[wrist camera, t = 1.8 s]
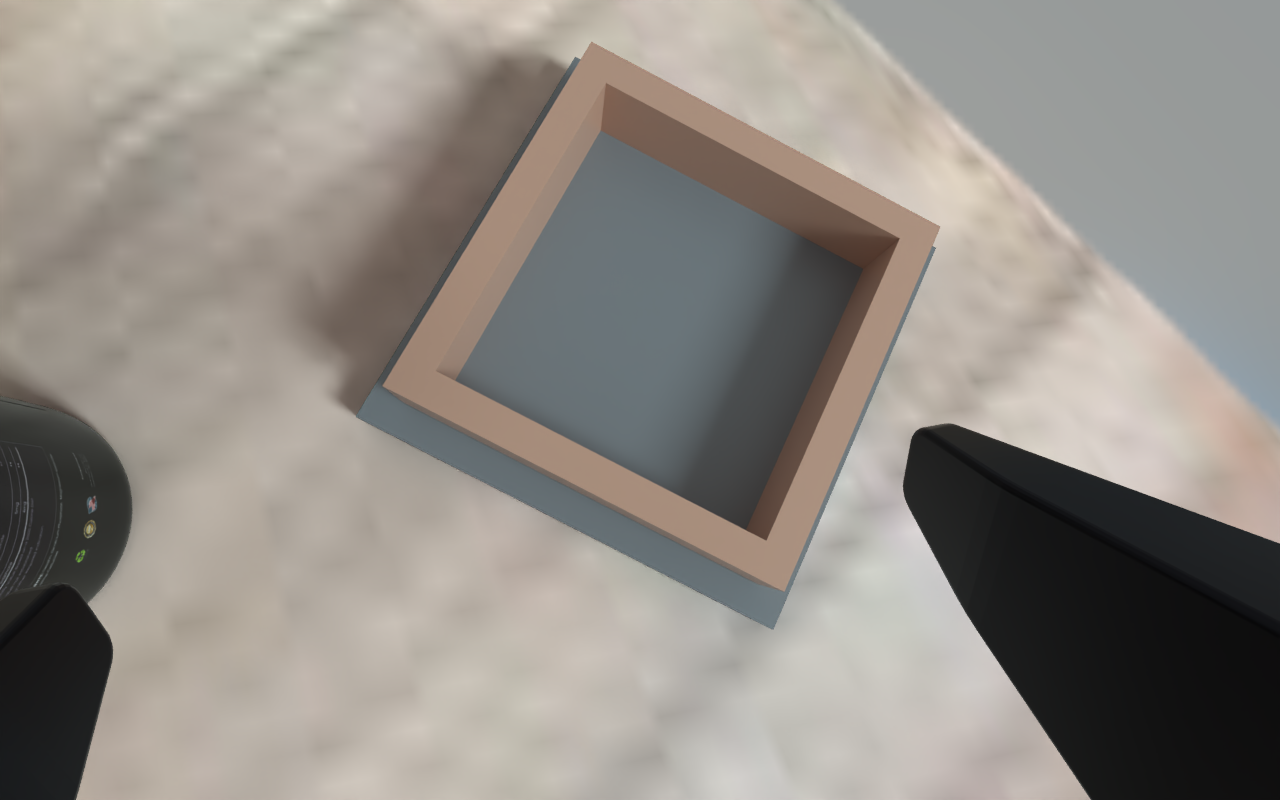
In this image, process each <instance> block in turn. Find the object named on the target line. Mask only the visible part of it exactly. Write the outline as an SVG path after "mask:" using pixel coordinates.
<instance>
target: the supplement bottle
mask: <svg viewBox="0 0 1280 800" xmlns="http://www.w3.org/2000/svg"><path fill="white" fill-rule="evenodd" d="M131 522H132V497H131V491H130V485H129V482H128V478H127V475H126V473H125V470H124V468H123V466H122V464H121V462H120V460H119V458H118V456H117V455H116V453H115V452H114V451H113V449H112V448H111V447H110V445H109V444H108V443H107V442H106V441H105V440H104V439H103V438H102V437H101V436H100V435H99V434H98V433H97V432H95V431H94V430H93V429H92V428H90V427H89V426H87V425H86V424H85V423H83V422H81V421H79V420H78V419H76V418H74V417H72V416H70V415H68V414H65V413H63V412H60V411H57V410H54V409H51V408H48V407H45V406H41V405H37V404H33V403H28V402H25V401H21V400H17V399H12V398H8V397H4V396H0V600H1V599H3V598H4V597H6V596H7V595H9V594H10V593H12V592H15V591H17V590H20V589H24V588H30V587H35V586H41V585H47V584H52V583H67V584H69V585H71V586H73V587H75V588H76V589H77V590H78V591H79V593H80V594H81V596H82V597H83V598H84V600H85V601H86V603H88V602H89V601H90V600H92V599H93V598H94V597H95V595H96V594H97V593H98V592H99V591H100V590H101V589H102V587H103V586H104V585H105V583H106V582H107V581H108V579H109V578H110V577H111V575H112V573H113V572H114V570H115V568H116V567H117V565H118V563H119V561H120V559H121V557H122V555H123V552H124V549H125V547H126V544H127V541H128V537H129V533H130V528H131Z"/></svg>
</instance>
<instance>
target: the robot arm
mask: <svg viewBox="0 0 1280 800" xmlns="http://www.w3.org/2000/svg"><path fill="white" fill-rule="evenodd" d="M903 492H904V497H905V500H906V503H907V505H908V507H909V509H910V511H911V512H912V514H913V516H914V518H915V520H916V522H917V524H918V526H919V527H920V529H921V531H922V533H923V535H924V537H925V539H926V541H927V542H928V544H929V546H930V548H931V550H932V552H933V554H934V556H935V557H936V559H937V561H938V563H939V565H940V567H941V569H942V571H943V573H944V574H945V576H946V578H947V580H948V582H949V584H950V586H951V588H952V589H953V591H954V593H955V595H956V597H957V598H958V600H959V602H960V604H961V605H962V607H963V609H964V611H965V612H966V614H967V616H968V617H969V619H970V620H971V622H972V623H973V625H974V626H975V628H976V630H977V631H978V633H979V634H980V636H981V637H982V639H983V640H984V642H985V643H986V645H987V646H988V648H989V649H990V650H991V652H992V653H993V655H994V656H995V658H996V659H997V661H998V662H999V664H1000V665H1001V667H1002V668H1003V670H1004V671H1005V673H1006V674H1007V676H1008V677H1009V679H1010V680H1011V682H1012V683H1013V685H1014V686H1015V688H1016V689H1017V691H1018V692H1019V694H1020V695H1021V697H1022V698H1023V699H1024V701H1025V702H1026V704H1027V705H1028V707H1029V708H1030V710H1031V711H1032V713H1033V714H1034V716H1035V717H1036V719H1037V720H1038V722H1039V723H1040V725H1041V726H1042V728H1043V729H1044V731H1045V732H1046V734H1047V735H1048V737H1049V738H1050V740H1051V741H1052V743H1053V744H1054V746H1055V747H1056V748H1057V750H1058V751H1059V753H1060V754H1061V756H1062V757H1063V759H1064V760H1065V762H1066V763H1067V765H1068V766H1069V768H1070V769H1071V771H1072V772H1073V774H1074V775H1075V777H1076V778H1077V780H1078V781H1079V783H1080V784H1081V786H1082V787H1083V789H1084V790H1085V792H1086V793H1087V795H1088V796H1089V798H1090V799H1091V800H1280V544H1279V543H1277V542H1274V541H1271V540H1268V539H1266V538H1263V537H1260V536H1257V535H1255V534H1252V533H1249V532H1247V531H1244V530H1241V529H1238V528H1236V527H1233V526H1230V525H1227V524H1225V523H1222V522H1219V521H1217V520H1214V519H1211V518H1208V517H1206V516H1203V515H1200V514H1197V513H1195V512H1192V511H1189V510H1187V509H1184V508H1181V507H1178V506H1176V505H1173V504H1170V503H1167V502H1165V501H1162V500H1159V499H1157V498H1154V497H1151V496H1148V495H1146V494H1143V493H1140V492H1138V491H1135V490H1132V489H1129V488H1127V487H1124V486H1121V485H1118V484H1116V483H1113V482H1110V481H1108V480H1105V479H1102V478H1099V477H1097V476H1094V475H1091V474H1088V473H1086V472H1083V471H1080V470H1078V469H1075V468H1072V467H1069V466H1067V465H1064V464H1061V463H1059V462H1056V461H1053V460H1050V459H1048V458H1045V457H1042V456H1039V455H1037V454H1034V453H1031V452H1029V451H1026V450H1023V449H1020V448H1018V447H1015V446H1012V445H1009V444H1007V443H1004V442H1001V441H999V440H996V439H993V438H990V437H988V436H985V435H982V434H980V433H977V432H974V431H971V430H969V429H966V428H963V427H960V426H958V425H955V424H940V425H935V426H929V427H923V428H920V429H918V430H917V431H916V432H915V433H914V435H913V436H912V439H911V444H910V449H909V454H908V460H907V465H906V470H905V476H904V481H903ZM112 659H113V646H112V642H111V639H110V636H109V634H108V633H107V631H106V630H105V628H104V627H103V625H102V624H101V623H100V621H99V620H98V618H97V617H96V615H95V614H94V613H93V611H92V610H91V608H90V607H89V605H88V604H87V603H86V601H85V600H84V598H83V597H82V596H81V594H80V593H79V591H78V590H77V589H76V588H75V587H73V586H71V585H69V584H67V583H52V584H47V585H41V586H35V587H30V588H24V589H20V590H17V591H15V592H12V593H10V594H9V595H7V596H6V597H4V598H3V599H1V600H0V800H76V797H77V794H78V791H79V787H80V783H81V780H82V776H83V772H84V768H85V764H86V760H87V756H88V753H89V749H90V745H91V741H92V737H93V733H94V730H95V726H96V722H97V718H98V714H99V710H100V707H101V703H102V699H103V695H104V691H105V687H106V683H107V680H108V676H109V672H110V668H111V664H112Z"/></svg>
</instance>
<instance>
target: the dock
mask: <svg viewBox="0 0 1280 800" xmlns="http://www.w3.org/2000/svg"><path fill="white" fill-rule="evenodd" d="M939 229H940V226H938V225H936V224H934V223H932V222H930V221H928V220H927V219H925V218H923V217H921V216H919V215H917V214H915V213H913V212H912V211H910V210H908V209H906V208H904V207H902V206H900V205H898V204H896V203H895V202H893V201H891V200H889V199H887V198H885V197H883V196H881V195H879V194H878V193H876V192H874V191H872V190H870V189H868V188H866V187H864V186H863V185H861V184H859V183H857V182H855V181H853V180H851V179H849V178H847V177H846V176H844V175H842V174H840V173H838V172H836V171H834V170H832V169H830V168H829V167H827V166H825V165H823V164H821V163H819V162H817V161H815V160H813V159H812V158H810V157H808V156H806V155H804V154H802V153H800V152H798V151H797V150H795V149H793V148H791V147H789V146H787V145H785V144H783V143H781V142H780V141H778V140H776V139H774V138H772V137H770V136H768V135H766V134H764V133H763V132H761V131H759V130H757V129H755V128H753V127H751V126H749V125H747V124H746V123H744V122H742V121H740V120H738V119H736V118H734V117H732V116H731V115H729V114H727V113H725V112H723V111H721V110H719V109H717V108H715V107H714V106H712V105H710V104H708V103H706V102H704V101H702V100H700V99H698V98H697V97H695V96H693V95H691V94H689V93H687V92H685V91H683V90H681V89H680V88H678V87H676V86H674V85H672V84H670V83H668V82H666V81H665V80H663V79H661V78H659V77H657V76H655V75H653V74H651V73H649V72H648V71H646V70H644V69H642V68H640V67H638V66H636V65H634V64H632V63H631V62H629V61H627V60H625V59H623V58H621V57H619V56H617V55H616V54H614V53H612V52H610V51H608V50H606V49H604V48H602V47H600V46H599V45H597V44H595V43H593V42H591V43H590V45H589V47H588V48H587V50H586V52H585V53H584V55H583V57H582V58H581V60H580V59H578V58H576V57H575V58H574V60H573V61H572V63H571V65H570V66H569V68H568V70H567V71H566V73H565V75H564V76H563V78H562V79H561V81H560V83H559V84H558V86H557V88H556V89H555V91H554V93H553V94H552V96H551V97H550V99H549V101H548V102H547V104H546V106H545V107H544V109H543V111H542V112H541V114H540V115H539V117H538V119H537V120H536V122H535V124H534V125H533V127H532V129H531V130H530V132H529V134H528V135H527V137H526V138H525V140H524V142H523V143H522V145H521V147H520V148H519V150H518V152H517V153H516V155H515V156H514V158H513V160H512V161H511V163H510V165H509V166H508V168H507V170H506V171H505V173H504V174H503V176H502V178H501V179H500V181H499V183H498V184H497V186H496V188H495V189H494V191H493V192H492V194H491V196H490V197H489V199H488V201H487V202H486V204H485V206H484V207H483V209H482V210H481V212H480V214H479V215H478V217H477V219H476V220H475V222H474V224H473V225H472V227H471V228H470V230H469V232H468V233H467V235H466V237H465V238H464V240H463V242H462V243H461V245H460V246H459V248H458V250H457V251H456V253H455V255H454V256H453V258H452V260H451V261H450V263H449V265H448V266H447V268H446V269H445V271H444V273H443V274H442V276H441V278H440V279H439V281H438V283H437V284H436V286H435V287H434V289H433V291H432V292H431V294H430V296H429V297H428V299H427V301H426V302H425V304H424V305H423V307H422V309H421V310H420V312H419V314H418V315H417V317H416V319H415V320H414V322H413V323H412V325H411V327H410V328H409V330H408V332H407V333H406V335H405V337H404V338H403V340H402V341H401V343H400V345H399V346H398V348H397V350H396V351H395V353H394V355H393V356H392V358H391V359H390V361H389V363H388V364H387V366H386V368H385V369H384V371H383V373H382V374H381V376H380V377H379V379H378V381H377V382H376V384H375V386H374V387H373V389H372V391H371V392H370V394H369V396H368V397H367V399H366V400H365V402H364V404H363V405H362V407H361V409H360V410H359V412H358V414H357V415H356V417H357V418H359V419H361V420H363V421H365V422H367V423H369V424H371V425H373V426H375V427H377V428H378V429H380V430H382V431H384V432H386V433H388V434H390V435H392V436H394V437H396V438H398V439H400V440H402V441H404V442H406V443H408V444H410V445H412V446H414V447H416V448H418V449H420V450H422V451H424V452H425V453H427V454H429V455H431V456H433V457H435V458H437V459H439V460H441V461H443V462H445V463H447V464H449V465H451V466H453V467H455V468H457V469H459V470H461V471H463V472H465V473H467V474H469V475H471V476H472V477H474V478H476V479H478V480H480V481H482V482H484V483H486V484H488V485H490V486H492V487H494V488H496V489H498V490H500V491H502V492H504V493H506V494H508V495H510V496H512V497H514V498H516V499H518V500H519V501H521V502H523V503H525V504H527V505H529V506H531V507H533V508H535V509H537V510H539V511H541V512H543V513H545V514H547V515H549V516H551V517H553V518H555V519H557V520H559V521H561V522H563V523H565V524H567V525H568V526H570V527H572V528H574V529H576V530H578V531H580V532H582V533H584V534H586V535H588V536H590V537H592V538H594V539H596V540H598V541H600V542H602V543H604V544H606V545H608V546H610V547H612V548H614V549H615V550H617V551H619V552H621V553H623V554H625V555H627V556H629V557H631V558H633V559H635V560H637V561H639V562H641V563H643V564H645V565H647V566H649V567H651V568H653V569H655V570H657V571H659V572H661V573H662V574H664V575H666V576H668V577H670V578H672V579H674V580H676V581H678V582H680V583H682V584H684V585H686V586H688V587H690V588H692V589H694V590H696V591H698V592H700V593H702V594H704V595H706V596H708V597H709V598H711V599H713V600H715V601H717V602H719V603H721V604H723V605H725V606H727V607H729V608H731V609H733V610H735V611H737V612H739V613H741V614H743V615H745V616H747V617H749V618H751V619H753V620H755V621H756V622H758V623H760V624H762V625H764V626H766V627H768V628H771V629H774V627H775V624H776V622H777V620H778V617H779V615H780V613H781V610H782V608H783V606H784V603H785V601H786V599H787V596H788V594H789V592H790V589H791V587H792V585H793V582H794V580H795V577H796V575H797V573H798V570H799V568H800V566H801V563H802V561H803V559H804V556H805V554H806V552H807V549H808V547H809V545H810V542H811V540H812V538H813V535H814V533H815V530H816V528H817V526H818V523H819V521H820V519H821V516H822V514H823V512H824V509H825V507H826V505H827V502H828V500H829V498H830V495H831V493H832V491H833V488H834V486H835V484H836V481H837V479H838V476H839V474H840V472H841V469H842V467H843V465H844V462H845V460H846V458H847V455H848V453H849V451H850V448H851V446H852V444H853V441H854V439H855V437H856V434H857V432H858V430H859V427H860V425H861V422H862V420H863V418H864V415H865V413H866V411H867V408H868V406H869V404H870V401H871V399H872V397H873V394H874V392H875V390H876V387H877V385H878V383H879V380H880V378H881V376H882V373H883V371H884V368H885V366H886V364H887V361H888V359H889V357H890V354H891V352H892V350H893V347H894V345H895V343H896V340H897V338H898V336H899V333H900V331H901V329H902V326H903V324H904V322H905V319H906V317H907V314H908V312H909V310H910V307H911V305H912V303H913V300H914V298H915V296H916V293H917V291H918V289H919V286H920V284H921V282H922V279H923V277H924V275H925V272H926V270H927V268H928V265H929V263H930V260H931V258H932V256H933V253H934V251H935V249H936V248H935V247H933V246H932V245H933V243H934V241H935V238H936V236H937V234H938V231H939Z"/></svg>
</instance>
